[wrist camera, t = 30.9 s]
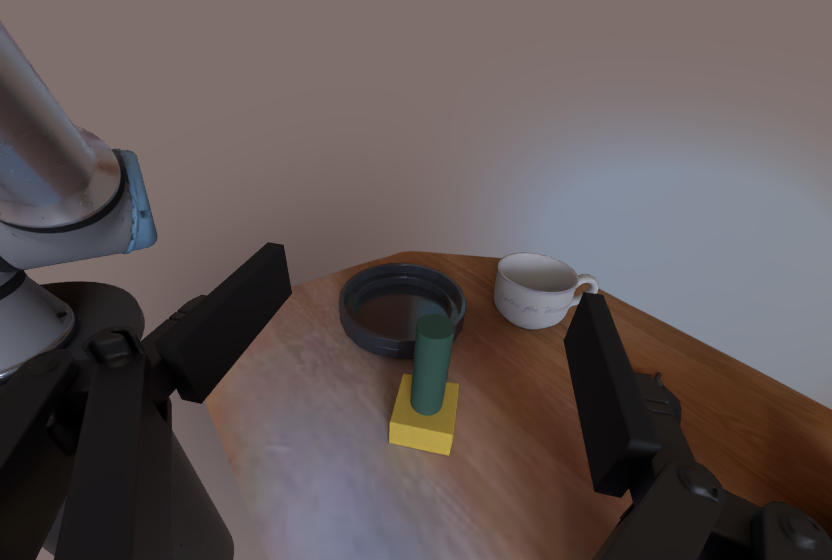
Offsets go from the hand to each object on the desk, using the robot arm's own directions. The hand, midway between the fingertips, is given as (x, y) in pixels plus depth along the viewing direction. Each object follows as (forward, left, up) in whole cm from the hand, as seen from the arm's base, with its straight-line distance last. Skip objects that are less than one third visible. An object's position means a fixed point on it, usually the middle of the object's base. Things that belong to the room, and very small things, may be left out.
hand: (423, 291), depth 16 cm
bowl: (-6, +26, -24) cm, 36 cm away
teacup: (+13, +31, -24) cm, 41 cm away
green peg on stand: (0, +10, -24) cm, 26 cm away
